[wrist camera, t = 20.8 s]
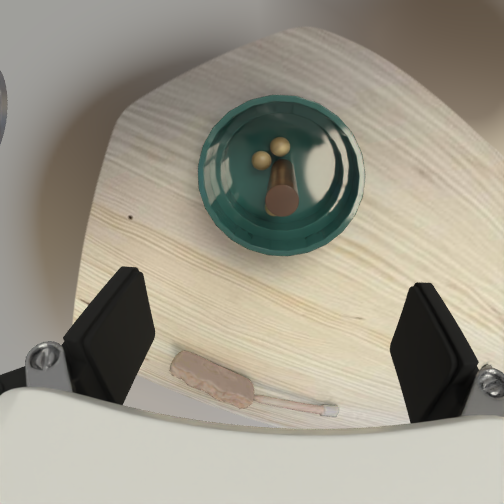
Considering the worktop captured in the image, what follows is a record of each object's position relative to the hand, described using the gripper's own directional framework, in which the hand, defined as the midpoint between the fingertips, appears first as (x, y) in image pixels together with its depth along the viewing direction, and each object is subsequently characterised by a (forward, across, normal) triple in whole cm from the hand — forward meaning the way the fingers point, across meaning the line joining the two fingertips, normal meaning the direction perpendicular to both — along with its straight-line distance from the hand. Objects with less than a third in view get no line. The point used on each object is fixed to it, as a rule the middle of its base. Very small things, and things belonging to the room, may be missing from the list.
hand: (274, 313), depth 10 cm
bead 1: (+23, +2, -1) cm, 23 cm away
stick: (+24, 0, 0) cm, 24 cm away
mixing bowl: (+24, 0, 0) cm, 24 cm away
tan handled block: (+24, +1, +34) cm, 42 cm away
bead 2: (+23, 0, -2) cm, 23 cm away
